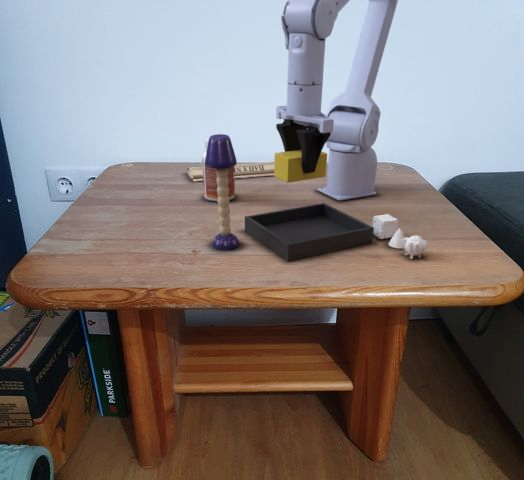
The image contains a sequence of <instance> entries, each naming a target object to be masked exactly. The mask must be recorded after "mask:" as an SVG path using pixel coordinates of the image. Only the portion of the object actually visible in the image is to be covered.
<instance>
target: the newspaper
mask: <svg viewBox="0 0 524 480" xmlns="http://www.w3.org/2000/svg"><path fill="white" fill-rule="evenodd" d="M274 169H275V161H266V162H265V161H264V162H250V163H236V165H235V166H234V178H235V179H243V178H245V179H246V178H257V177H268V176H269V177H270V176H274ZM186 172H187V175H188V177H189V178H190V179H191V180H192V181H193V182H203V167H202V166H194V167H187V168H186Z"/></svg>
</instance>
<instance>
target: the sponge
mask: <svg viewBox="0 0 524 480" xmlns="http://www.w3.org/2000/svg"><path fill="white" fill-rule="evenodd" d="M274 162H275V169H274V175H273V176H274V177H275V178H277V179H279V180H281V181H282V182H285V183H295V182H301V181H307V180H313V179H320V178H325V177H326V178H327V166H328V153H327V152H324V151H321V154H320V157H319V160H318V163H317V166H316V169H315V172H313V173H306V174H305V173H303V169H302V153H301V150H296V151H288V152H285V151H280V152H275V153H274Z"/></svg>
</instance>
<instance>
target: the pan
mask: <svg viewBox="0 0 524 480" xmlns="http://www.w3.org/2000/svg"><path fill="white" fill-rule="evenodd" d="M373 231H374V227H372V225H370V224H367V223H365V222H364V221H361V220H360V219H357V218H355V217H353V216H351V215H349V214H348V213H346V212H343V211H341V210H339V209H338V208H335V207H333V206H331V205H330V204H327V203H326V202H321V203H317V204H311V205H305V206H299V207H294V208H293V207H292V208H287V209H280V210H275V211H269V212H263V213H258V214H257V213H256V214H252V215H246V216H244V232H245V233H247V234H248V235H249V236H251V237H252V238H254V239H255V240H257V241H258V242H260V243H261V244H262V245H264V246H265V247H267V248H268V249H269V250H271V251H272V252H274V253H276V255H279V256H280V257H281V258H282V259H284V260H285V261H287V262H290V261H296V260H299V259H303V258H308V257H313V256H318V255H322V254H327V253H331V252H336V251H340V250H344V249H349V248H354V247H358V246H363V245H368V244H372V243H373V239H374V234H373Z"/></svg>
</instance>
